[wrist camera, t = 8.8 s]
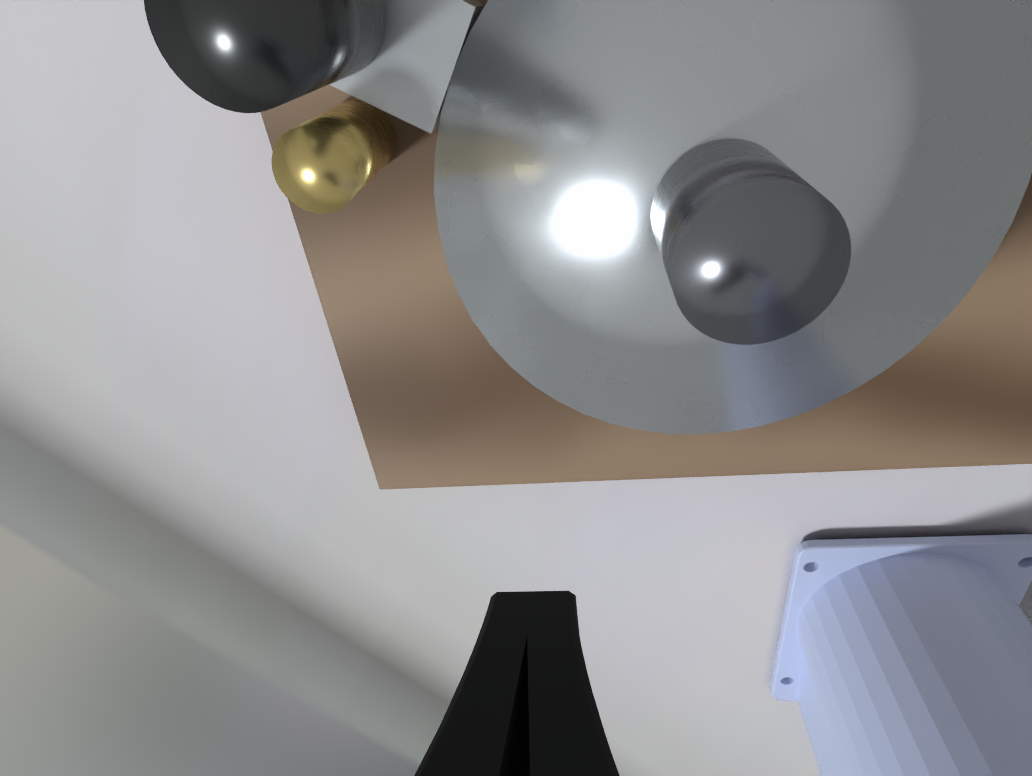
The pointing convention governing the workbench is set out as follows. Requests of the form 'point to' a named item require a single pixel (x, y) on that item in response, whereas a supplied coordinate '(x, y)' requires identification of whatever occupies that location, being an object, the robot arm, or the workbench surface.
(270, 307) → the workbench surface
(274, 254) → the workbench surface
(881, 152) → the crank
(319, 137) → the dowel
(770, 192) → the post
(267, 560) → the workbench surface
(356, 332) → the base board
